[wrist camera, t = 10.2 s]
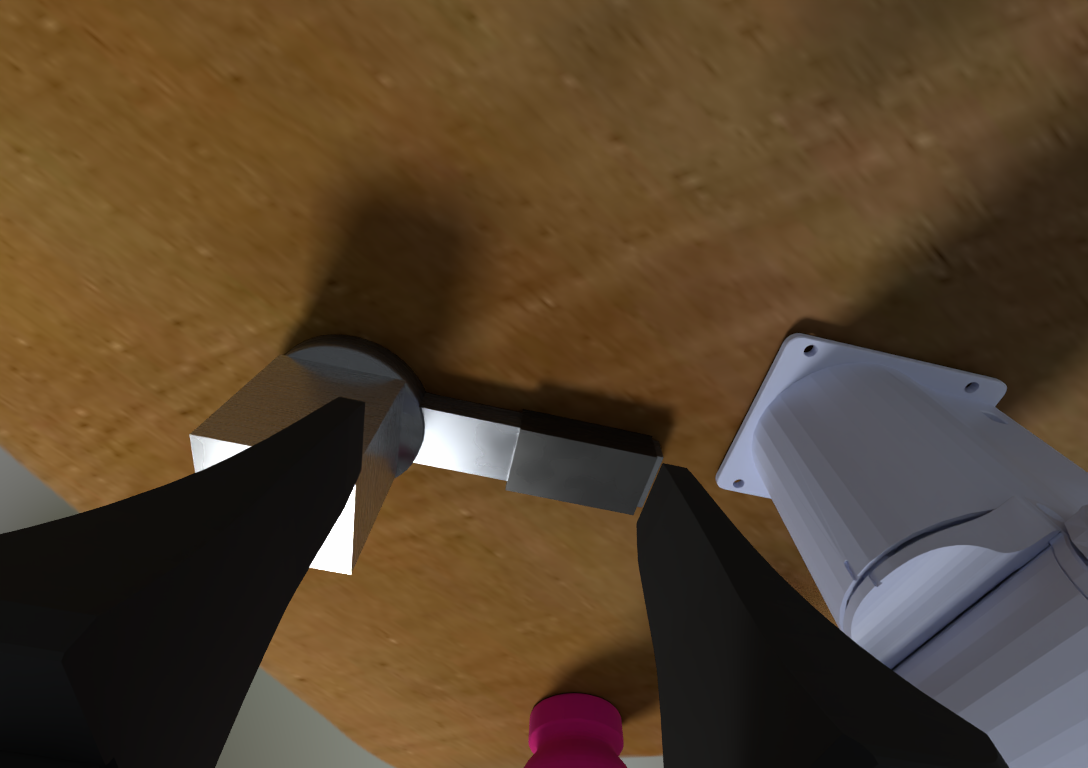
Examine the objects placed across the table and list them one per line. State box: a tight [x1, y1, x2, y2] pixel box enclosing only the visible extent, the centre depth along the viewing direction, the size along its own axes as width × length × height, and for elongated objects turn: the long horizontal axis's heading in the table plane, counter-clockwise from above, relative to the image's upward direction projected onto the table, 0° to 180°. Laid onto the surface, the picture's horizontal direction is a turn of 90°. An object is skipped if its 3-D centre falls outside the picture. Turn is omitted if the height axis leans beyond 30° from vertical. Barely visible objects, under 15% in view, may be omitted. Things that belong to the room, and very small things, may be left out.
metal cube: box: [190, 354, 406, 575], centre depth 19 cm, size 5×5×6 cm
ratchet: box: [286, 335, 663, 515], centre depth 21 cm, size 17×7×4 cm, turn 77°
